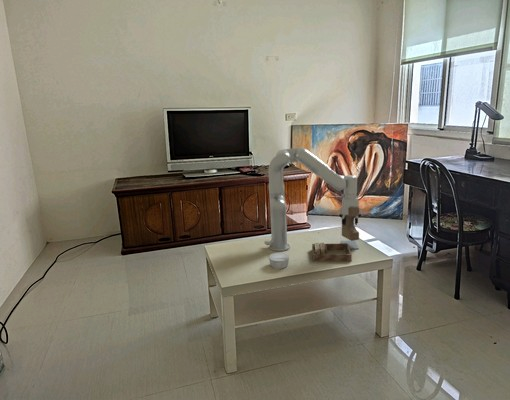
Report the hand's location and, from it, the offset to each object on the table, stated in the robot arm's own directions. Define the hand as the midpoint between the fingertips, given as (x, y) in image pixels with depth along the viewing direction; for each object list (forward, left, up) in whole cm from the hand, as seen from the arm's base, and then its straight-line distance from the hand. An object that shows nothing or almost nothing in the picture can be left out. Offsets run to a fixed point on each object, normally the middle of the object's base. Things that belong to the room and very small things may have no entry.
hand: (349, 224), depth 218 cm
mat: (0, 0, -14) cm, 14 cm away
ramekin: (-42, -30, -14) cm, 53 cm away
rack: (-13, -16, -14) cm, 24 cm away
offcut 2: (-18, -16, -14) cm, 27 cm away
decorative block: (0, 0, -9) cm, 9 cm away
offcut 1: (-21, -16, -14) cm, 29 cm away
